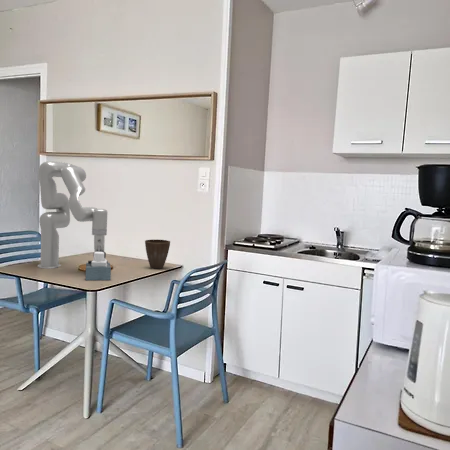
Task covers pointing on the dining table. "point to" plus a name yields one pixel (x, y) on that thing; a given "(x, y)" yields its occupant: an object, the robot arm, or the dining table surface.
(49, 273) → the dining table surface
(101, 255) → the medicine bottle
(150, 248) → the plant pot
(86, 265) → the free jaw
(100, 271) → the base
